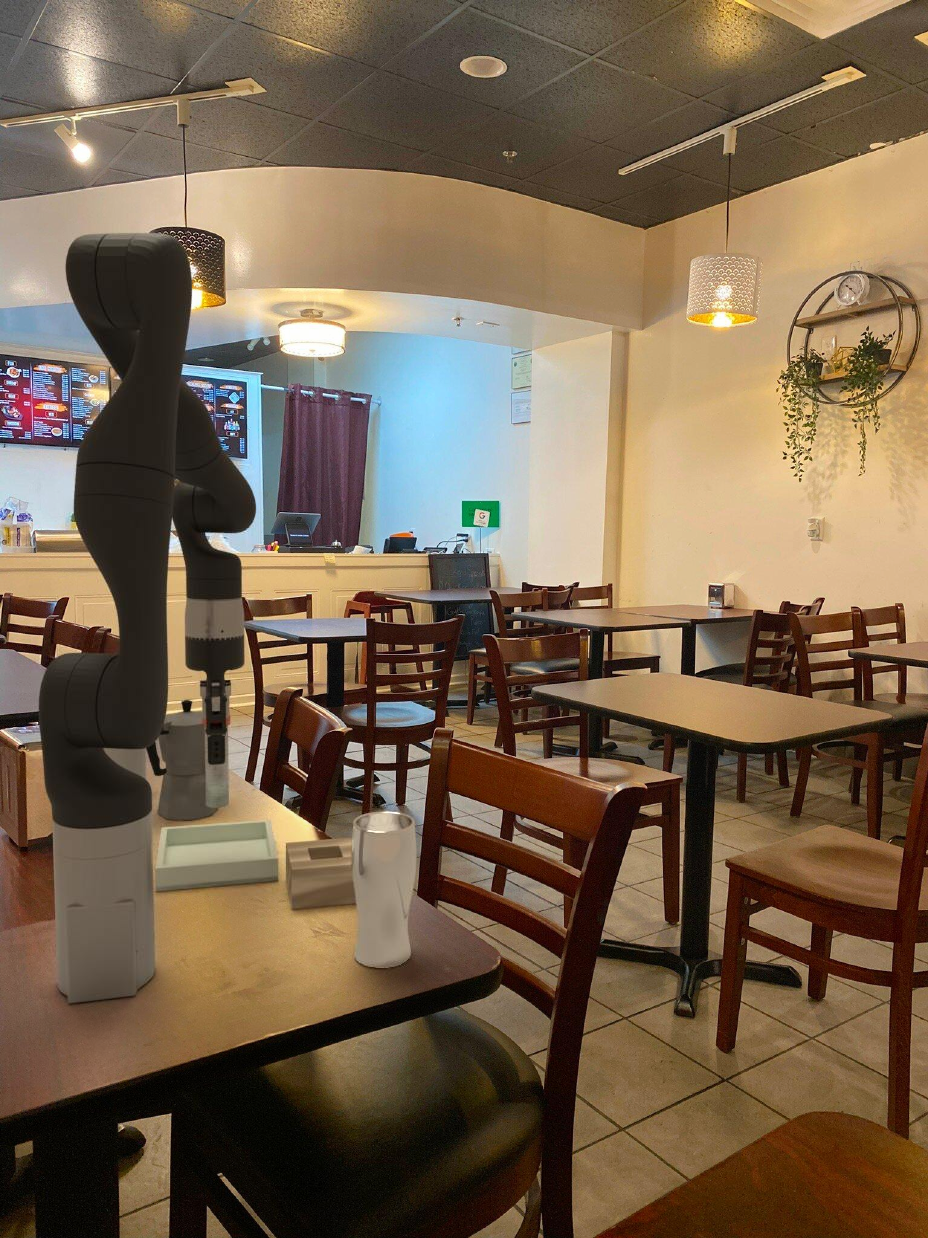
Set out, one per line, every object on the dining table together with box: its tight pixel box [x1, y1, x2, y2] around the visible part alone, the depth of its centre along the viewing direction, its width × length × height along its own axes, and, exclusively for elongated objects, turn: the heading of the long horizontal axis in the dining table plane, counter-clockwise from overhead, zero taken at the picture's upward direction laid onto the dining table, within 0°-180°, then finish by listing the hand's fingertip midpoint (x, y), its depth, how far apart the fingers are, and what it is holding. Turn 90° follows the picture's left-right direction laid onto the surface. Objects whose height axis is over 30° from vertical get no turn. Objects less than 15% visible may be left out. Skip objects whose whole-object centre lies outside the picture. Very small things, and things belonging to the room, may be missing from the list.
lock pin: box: [202, 714, 231, 809], centre depth 118 cm, size 4×4×12 cm
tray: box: [154, 819, 279, 892], centre depth 120 cm, size 15×15×3 cm
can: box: [103, 748, 147, 780], centre depth 147 cm, size 8×8×12 cm
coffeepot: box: [145, 699, 218, 822], centre depth 138 cm, size 15×9×18 cm, turn 155°
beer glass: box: [351, 810, 417, 968], centre depth 95 cm, size 7×7×15 cm
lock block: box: [285, 837, 356, 910], centre depth 112 cm, size 9×9×5 cm
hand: (216, 759), depth 118 cm, fingers closed on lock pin, 3 cm apart
